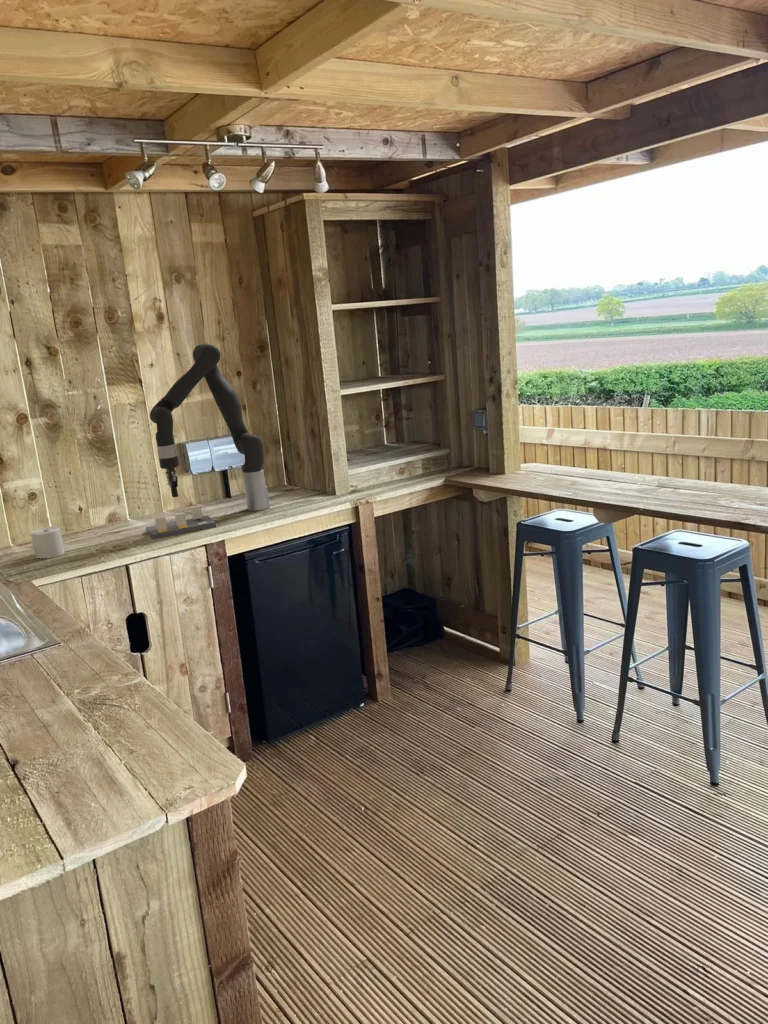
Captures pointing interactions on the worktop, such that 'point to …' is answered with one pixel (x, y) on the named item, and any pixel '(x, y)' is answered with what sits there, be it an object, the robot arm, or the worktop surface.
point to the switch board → (174, 529)
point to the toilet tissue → (47, 542)
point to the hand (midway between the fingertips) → (175, 496)
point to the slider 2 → (196, 512)
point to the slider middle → (180, 519)
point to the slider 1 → (160, 523)
